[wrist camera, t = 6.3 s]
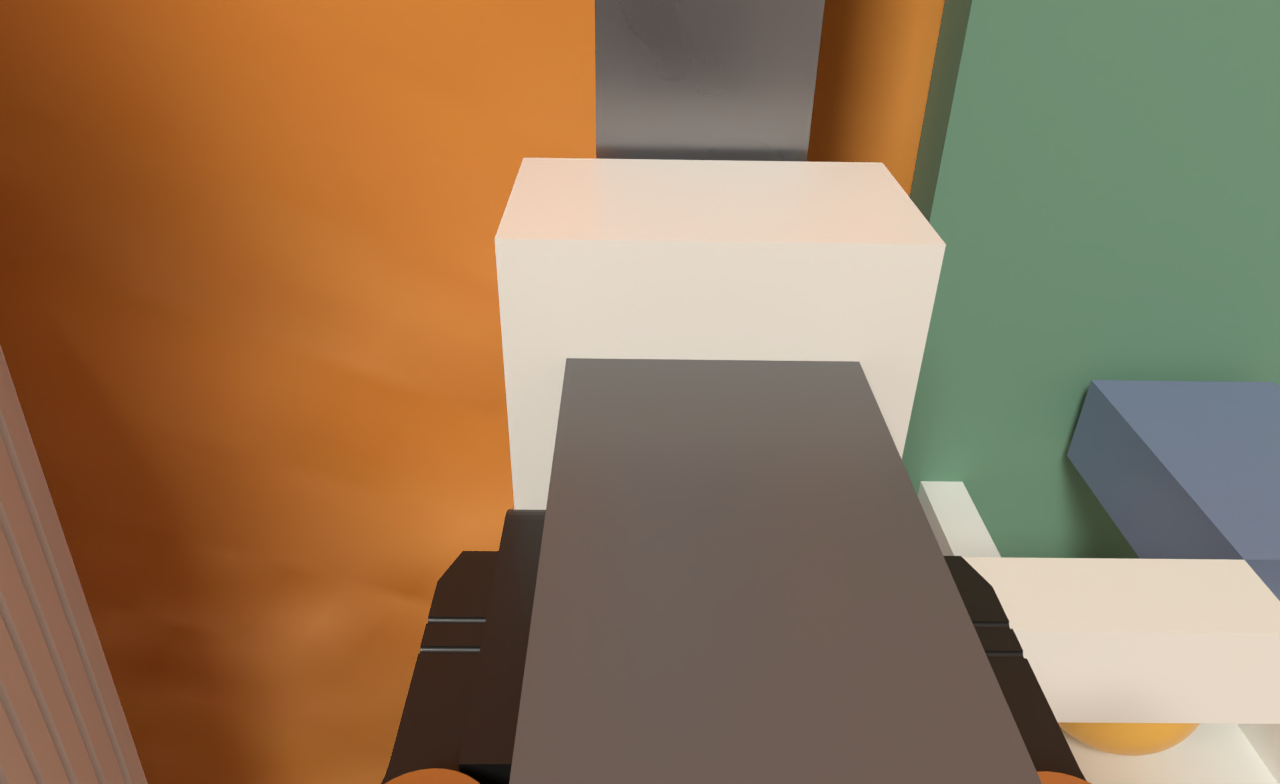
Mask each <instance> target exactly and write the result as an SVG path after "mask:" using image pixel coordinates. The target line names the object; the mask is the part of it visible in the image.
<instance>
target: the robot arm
mask: <svg viewBox="0 0 1280 784" xmlns="http://www.w3.org/2000/svg"><path fill="white" fill-rule="evenodd" d="M545 514H546V510H517V509H509V510H508V511H507V513H506V517H505V521H504V527H503V532H502V537H501V542H500V548H499V551H463V552H462V553H461V554H460V555H459V557H458V558H457V559H456V560H455V561H454V562H453V564H452V565H451V566H450V567H449V568H448V570H447V571H446V572H445V573H444V574H443V576H442V577H441V578H440V579H439V580H438V582H437V586H436V590H435V593H434V597H433V601H432V605H431V608H430V612H429V616H428V624H426V627H425V631H424V635H423V639H422V642H421V651H420V654H418V658H417V661H416V665H415V669H414V673H413V677H412V680H411V684H410V688H409V692H408V695H407V699H406V703H405V707H404V711H403V714H402V718H401V722H400V726H399V729H398V733H397V737H396V741H395V745H394V748H393V752H392V756H391V760H390V763H389V767H388V769H387V772H386V775H385V777H384V779H383V781H382V783H381V784H509V781H510V774H511V766H512V759H513V751H514V744H515V737H516V729H517V722H518V714H519V707H520V699H521V692H522V685H523V677H524V670H525V662H526V655H527V647H528V640H529V633H530V625H531V618H532V610H533V603H534V595H535V588H536V580H537V573H538V566H539V558H540V551H541V543H542V536H543V528H544V521H545ZM944 559H945V561H946V563H947V565H948V568H949V570H950V572H951V575H952V577H953V579H954V582H955V584H956V586H957V589H958V591H959V593H960V596H961V598H962V600H963V602H964V605H965V607H966V609H967V612H968V614H969V616H970V619H971V621H972V623H973V626H974V628H975V630H976V632H977V635H978V637H979V639H980V642H981V644H982V646H983V649H984V651H985V653H986V656H987V658H988V660H989V663H990V665H991V667H992V669H993V672H994V674H995V676H996V679H997V681H998V683H999V686H1000V688H1001V690H1002V693H1003V695H1004V697H1005V700H1006V702H1007V704H1008V706H1009V709H1010V711H1011V713H1012V716H1013V718H1014V720H1015V723H1016V725H1017V727H1018V730H1019V732H1020V734H1021V736H1022V739H1023V741H1024V743H1025V746H1026V748H1027V750H1028V753H1029V755H1030V757H1031V760H1032V762H1033V764H1034V767H1035V769H1036V771H1037V773H1038V776H1039V778H1040V780H1041V783H1042V784H1091V783H1089V782H1087V781H1086V779H1085V777H1084V775H1083V774H1082V772H1081V770H1080V768H1079V766H1078V764H1077V762H1076V760H1075V758H1074V756H1073V753H1072V751H1071V749H1070V747H1069V745H1068V743H1067V741H1066V739H1065V737H1064V735H1063V733H1062V731H1061V728H1060V726H1059V724H1058V722H1057V720H1056V718H1055V716H1054V714H1053V712H1052V710H1051V708H1050V705H1049V703H1048V701H1047V699H1046V697H1045V695H1044V693H1043V691H1042V689H1041V687H1040V685H1039V683H1038V680H1037V678H1036V676H1035V674H1034V672H1033V670H1032V668H1031V666H1030V664H1029V662H1028V660H1027V658H1024V657H1023V649H1022V647H1021V645H1020V643H1019V641H1018V639H1017V637H1016V635H1015V632H1014V630H1013V629H1010V627H1009V620H1008V618H1007V616H1006V614H1005V612H1004V609H1003V607H1002V605H1001V603H1000V601H999V599H998V597H997V595H996V593H995V591H994V589H993V587H992V585H990V584H989V583H988V582H987V581H986V580H985V579H984V578H983V577H982V576H981V575H980V574H979V573H978V572H977V571H976V570H975V569H974V568H973V567H972V566H971V565H970V564H969V563H968V562H967V561H966V560H965V559H964V558H963V557H961V556H944Z"/></svg>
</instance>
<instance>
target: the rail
mask: <svg viewBox="0 0 1280 784" xmlns="http://www.w3.org/2000/svg"><path fill="white" fill-rule="evenodd" d="M824 5H825V0H595V55H596V155H597V159H659V160H731V161H802V162H807V154H808V145H809V137H810V128H811V119H812V110H813V102H814V93H815V84H816V75H817V67H818V58H819V49H820V40H821V32H822V23H823V14H824Z"/></svg>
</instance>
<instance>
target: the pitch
mask: <svg viewBox="0 0 1280 784" xmlns="http://www.w3.org/2000/svg"><path fill="white" fill-rule="evenodd" d="M910 199H911V200H912V201H913V203H914V204H915V205H916V207H917V208H918V209H919V210H920V212H921V213H922V214H923V216H924V217H925V218H926V219H927V221H928V222H929V223H930V225H931V226H932V227H933V228H934V230H935V231H936V232H937V234H938V235H939V236H940V238H941V239H942V240H943V241H944V243H945V244H946V247H945V252H944V257H943V262H942V267H941V271H940V276H939V281H938V286H937V291H936V296H935V300H934V305H933V310H932V315H931V320H930V325H929V329H928V334H927V339H926V344H925V349H924V354H923V358H922V363H921V368H920V373H919V378H918V383H917V387H916V392H915V397H914V402H913V407H912V412H911V416H910V421H909V426H908V431H907V436H906V441H905V445H904V450H903V455H902V461H903V464H904V466H905V468H906V471H907V473H908V475H909V478H910V480H911V482H912V485H913V487H914V489H915V492H916V494H917V496H918V492H919V488H920V483H921V481H940V482H963V484H964V486H965V488H966V489H967V491H968V493H969V495H970V497H971V499H972V501H973V503H974V505H975V507H976V509H977V511H978V513H979V515H980V517H981V519H982V521H983V523H984V525H985V527H986V528H987V530H988V532H989V534H990V536H991V538H992V540H993V542H994V544H995V546H996V548H997V550H998V552H999V554H1000V556H1001V557H1004V558H1117V559H1140V558H1139V557H1138V555H1137V554H1136V553H1135V551H1134V550H1133V548H1132V547H1131V545H1130V544H1129V543H1128V541H1127V540H1126V538H1125V537H1124V536H1123V534H1122V533H1121V531H1120V530H1119V528H1118V527H1117V526H1116V524H1115V523H1114V521H1113V520H1112V519H1111V517H1110V516H1109V514H1108V513H1107V511H1106V510H1105V509H1104V507H1103V506H1102V504H1101V503H1100V502H1099V500H1098V499H1097V497H1096V496H1095V494H1094V493H1093V492H1092V490H1091V489H1090V487H1089V486H1088V485H1087V483H1086V482H1085V480H1084V479H1083V477H1082V476H1081V475H1080V473H1079V472H1078V470H1077V469H1076V468H1075V466H1074V465H1073V463H1072V462H1071V460H1070V459H1069V458H1068V456H1067V454H1068V451H1069V447H1070V444H1071V441H1072V438H1073V435H1074V432H1075V429H1076V426H1077V423H1078V420H1079V417H1080V414H1081V411H1082V407H1083V404H1084V401H1085V398H1086V395H1087V392H1088V389H1089V386H1090V383H1091V380H1132V381H1222V382H1275V383H1276V384H1277V385H1279V386H1280V0H945V3H944V9H943V15H942V20H941V26H940V31H939V37H938V43H937V48H936V54H935V59H934V65H933V70H932V76H931V82H930V87H929V93H928V98H927V104H926V110H925V115H924V121H923V126H922V132H921V138H920V143H919V149H918V154H917V160H916V165H915V171H914V177H913V182H912V188H911V193H910Z"/></svg>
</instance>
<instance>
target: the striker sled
mask: <svg viewBox="0 0 1280 784" xmlns="http://www.w3.org/2000/svg"><path fill="white" fill-rule="evenodd" d="M945 247H946V244H945V243H944V241H943V240H942V239H941V238H940V236H939V235H938V234H937V232H936V231H935V230H934V228H933V227H932V226H931V225H930V223H929V222H928V221H927V219H926V218H925V217H924V216H923V214H922V213H921V212H920V210H919V209H918V208H917V207H916V205H915V204H914V203H913V201H912V200H911V199H910V198H909V196H908V195H907V194H906V192H905V191H904V190H903V189H902V187H901V186H900V185H899V183H898V182H897V181H896V180H895V178H894V177H893V176H892V174H891V173H890V172H889V171H888V169H887V168H886V167H885V165H884V164H883V163H874V162H802V161H731V160H659V159H588V158H523V161H522V164H521V166H520V169H519V172H518V175H517V178H516V180H515V183H514V186H513V189H512V192H511V194H510V197H509V200H508V203H507V206H506V208H505V211H504V214H503V217H502V220H501V222H500V225H499V228H498V231H497V234H496V236H495V251H496V264H497V278H498V291H499V305H500V318H501V332H502V346H503V359H504V373H505V386H506V400H507V413H508V427H509V441H510V454H511V468H512V481H513V495H514V508H515V509H517V510H546V514H545V521H544V528H543V536H542V543H541V551H540V558H539V566H538V573H537V580H536V588H535V595H534V603H533V610H532V618H531V625H530V633H529V640H528V647H527V655H526V662H525V670H524V677H523V685H522V692H521V699H520V707H519V714H518V722H517V729H516V737H515V744H514V751H513V759H512V766H511V774H510V781H509V784H1042V783H1041V780H1040V778H1039V776H1038V773H1037V771H1036V769H1035V767H1034V764H1033V762H1032V760H1031V757H1030V755H1029V753H1028V750H1027V748H1026V746H1025V743H1024V741H1023V739H1022V736H1021V734H1020V732H1019V730H1018V727H1017V725H1016V723H1015V720H1014V718H1013V716H1012V713H1011V711H1010V709H1009V706H1008V704H1007V702H1006V700H1005V697H1004V695H1003V693H1002V690H1001V688H1000V686H999V683H998V681H997V679H996V676H995V674H994V672H993V669H992V667H991V665H990V663H989V660H988V658H987V656H986V653H985V651H984V649H983V646H982V644H981V642H980V639H979V637H978V635H977V632H976V630H975V628H974V626H973V623H972V621H971V619H970V616H969V614H968V612H967V609H966V607H965V605H964V602H963V600H962V598H961V596H960V593H959V591H958V589H957V586H956V584H955V582H954V579H953V577H952V575H951V572H950V570H949V568H948V565H947V563H946V561H945V559H944V556H943V554H942V552H941V549H940V547H939V545H938V542H937V540H936V538H935V535H934V533H933V531H932V529H931V526H930V524H929V522H928V519H927V517H926V515H925V512H924V510H923V508H922V505H921V503H920V501H919V498H918V496H917V494H916V492H915V489H914V487H913V485H912V482H911V480H910V478H909V475H908V473H907V471H906V468H905V466H904V464H903V461H902V455H903V450H904V445H905V441H906V436H907V431H908V426H909V421H910V416H911V412H912V407H913V402H914V397H915V392H916V387H917V383H918V378H919V373H920V368H921V363H922V358H923V354H924V349H925V344H926V339H927V334H928V329H929V325H930V320H931V315H932V310H933V305H934V300H935V296H936V291H937V286H938V281H939V276H940V271H941V267H942V262H943V257H944V252H945ZM1067 456H1068V458H1069V459H1070V460H1071V462H1072V463H1073V465H1074V466H1075V468H1076V469H1077V470H1078V472H1079V473H1080V475H1081V476H1082V477H1083V479H1084V480H1085V482H1086V483H1087V485H1088V486H1089V487H1090V489H1091V490H1092V492H1093V493H1094V494H1095V496H1096V497H1097V499H1098V500H1099V502H1100V503H1101V504H1102V506H1103V507H1104V509H1105V510H1106V511H1107V513H1108V514H1109V516H1110V517H1111V519H1112V520H1113V521H1114V523H1115V524H1116V526H1117V527H1118V528H1119V530H1120V531H1121V533H1122V534H1123V536H1124V537H1125V538H1126V540H1127V541H1128V543H1129V544H1130V545H1131V547H1132V548H1133V550H1134V551H1135V553H1136V554H1137V555H1138V557H1139V558H1140V559H1117V558H1004V557H963V558H964V559H965V560H966V561H967V562H968V563H969V564H970V565H971V566H972V567H973V568H974V569H975V570H976V571H977V572H978V573H979V574H980V575H981V576H982V577H983V578H984V579H985V580H986V581H987V582H988V583H989V584H990V585H992V587H993V589H994V591H995V593H996V595H997V597H998V599H999V601H1000V603H1001V605H1002V607H1003V609H1004V612H1005V614H1006V616H1007V618H1008V620H1009V627H1010V629H1013V630H1014V632H1015V635H1016V637H1017V639H1018V641H1019V643H1020V645H1021V647H1022V649H1023V657H1024V658H1027V660H1028V662H1029V664H1030V666H1031V668H1032V670H1033V672H1034V674H1035V676H1036V678H1037V680H1038V683H1039V685H1040V687H1041V689H1042V691H1043V693H1044V695H1045V697H1046V699H1047V701H1048V703H1049V705H1050V708H1051V710H1052V712H1053V714H1054V716H1055V718H1056V720H1057V722H1075V723H1225V724H1280V386H1279V385H1277V384H1276V383H1275V382H1222V381H1132V380H1091V383H1090V386H1089V389H1088V392H1087V395H1086V398H1085V401H1084V404H1083V407H1082V411H1081V414H1080V417H1079V420H1078V423H1077V426H1076V429H1075V432H1074V435H1073V438H1072V441H1071V444H1070V447H1069V451H1068V454H1067Z"/></svg>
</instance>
